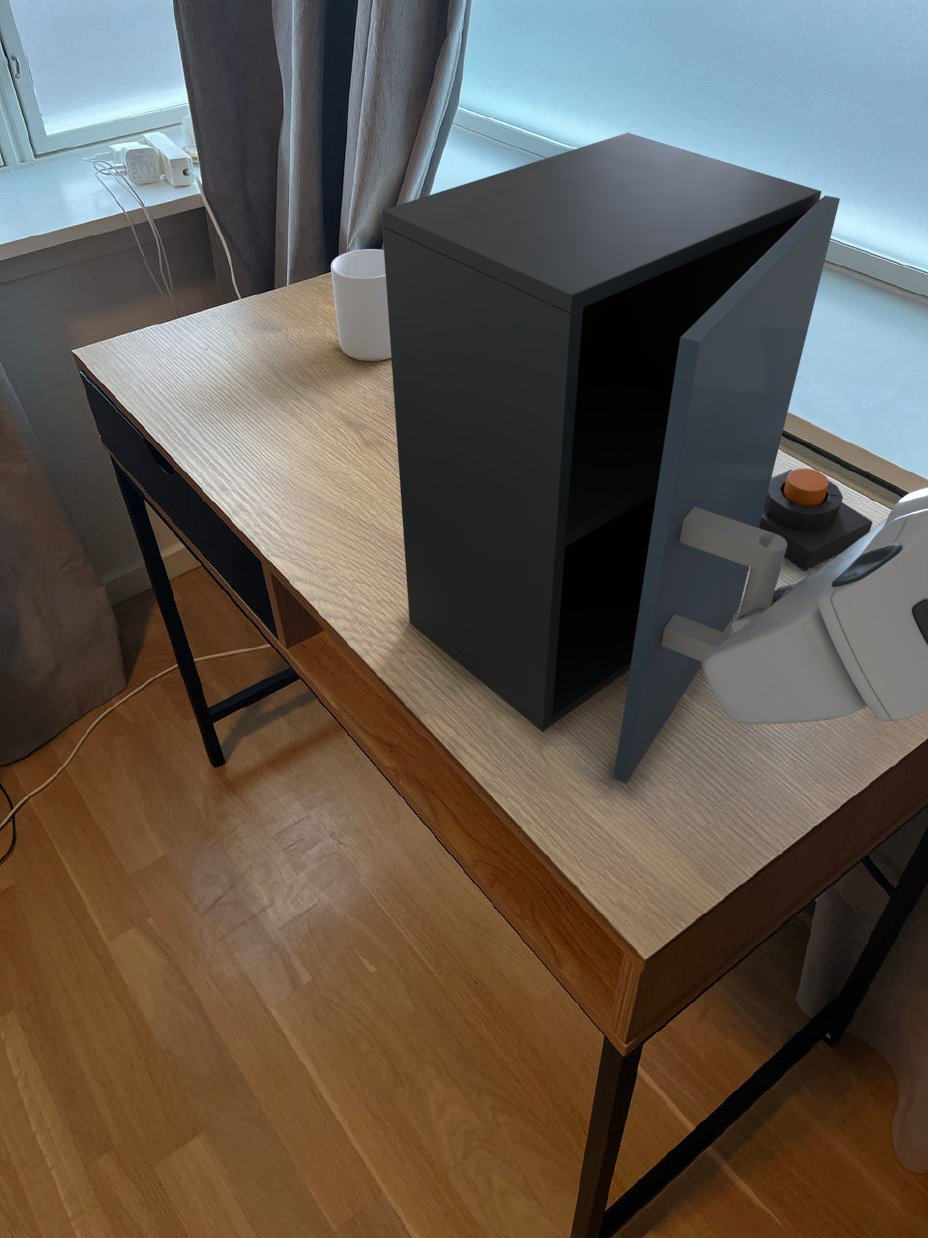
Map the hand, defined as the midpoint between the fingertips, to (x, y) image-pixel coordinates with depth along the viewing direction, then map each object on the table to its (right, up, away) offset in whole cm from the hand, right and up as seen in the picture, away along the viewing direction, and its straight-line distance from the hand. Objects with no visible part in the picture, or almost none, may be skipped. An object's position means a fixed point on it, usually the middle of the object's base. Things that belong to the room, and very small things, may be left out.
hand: (758, 619), depth 57 cm
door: (+2, -6, +17) cm, 18 cm away
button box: (+14, +9, +33) cm, 37 cm away
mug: (-29, +34, +62) cm, 76 cm away
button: (+13, +11, +31) cm, 35 cm away
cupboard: (-8, +1, +25) cm, 26 cm away
